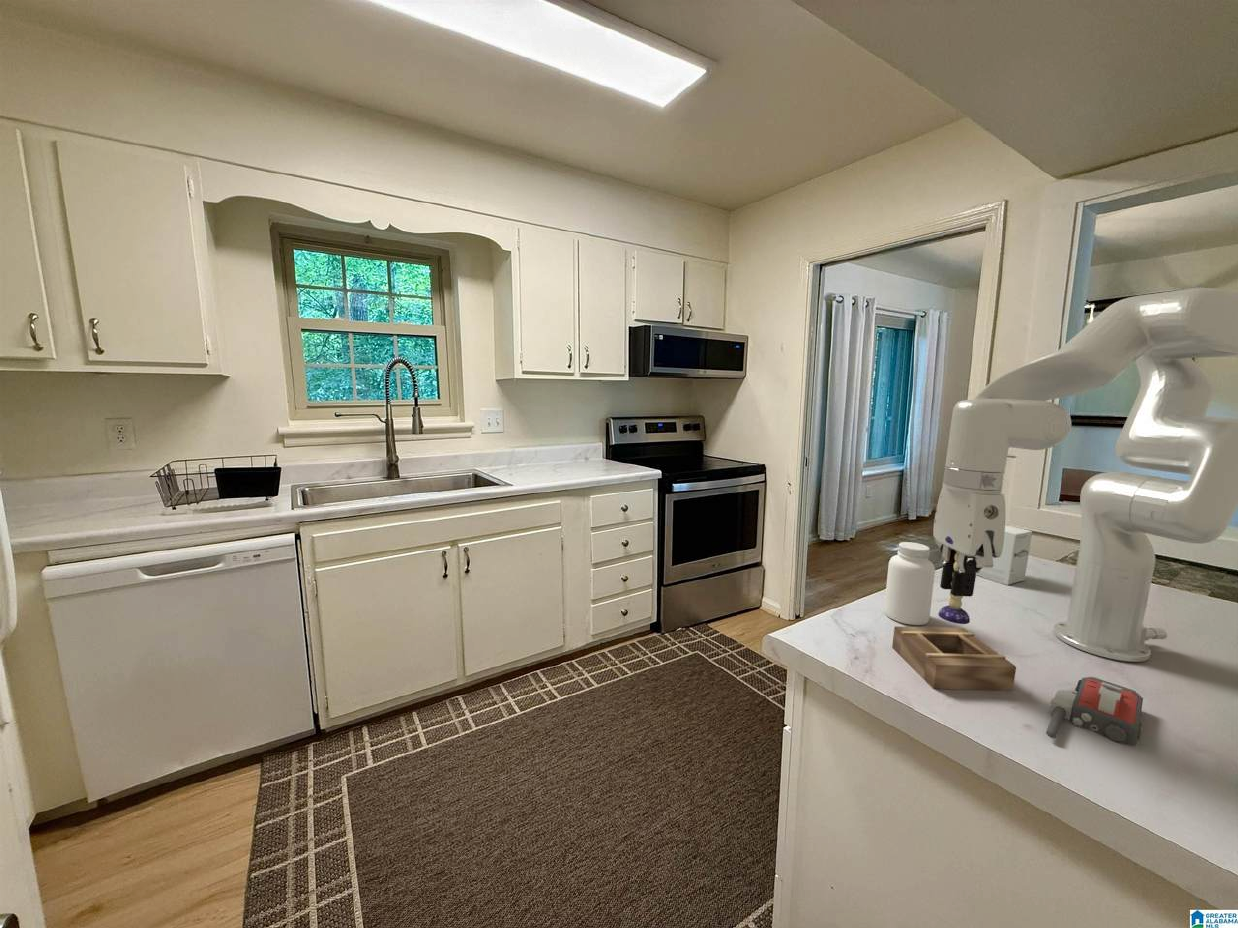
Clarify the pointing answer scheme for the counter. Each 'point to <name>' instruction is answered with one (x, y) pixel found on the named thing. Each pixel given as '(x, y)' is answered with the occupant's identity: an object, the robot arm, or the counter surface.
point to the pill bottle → (910, 585)
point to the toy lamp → (954, 601)
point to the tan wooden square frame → (953, 659)
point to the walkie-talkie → (1099, 710)
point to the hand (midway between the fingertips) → (956, 591)
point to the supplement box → (1010, 557)
